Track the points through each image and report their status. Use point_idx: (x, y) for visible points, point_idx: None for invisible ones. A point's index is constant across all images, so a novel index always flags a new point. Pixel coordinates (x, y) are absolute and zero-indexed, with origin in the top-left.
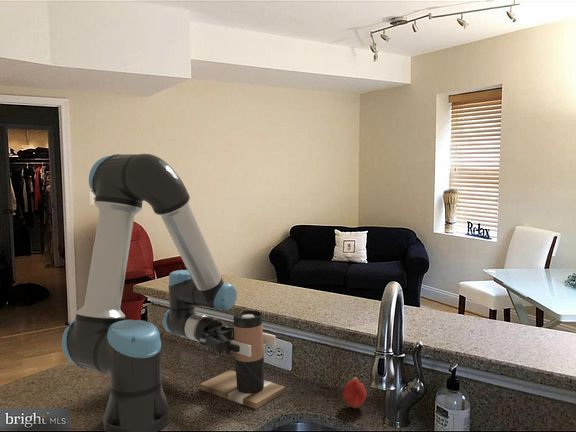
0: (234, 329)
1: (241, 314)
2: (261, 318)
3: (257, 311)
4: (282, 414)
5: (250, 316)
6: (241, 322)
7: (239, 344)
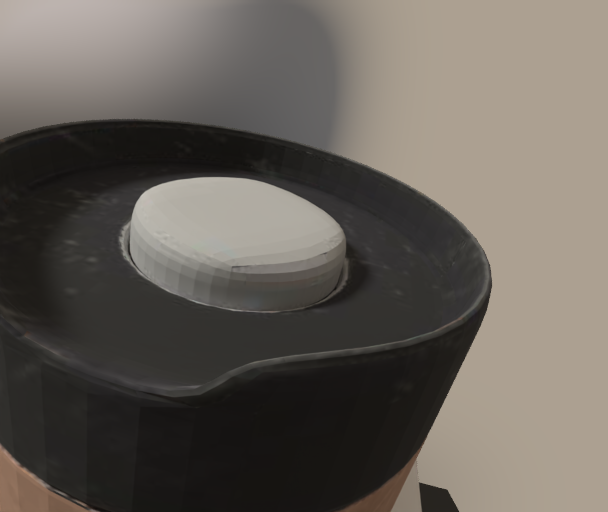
0: (395, 498)
1: (71, 341)
2: (208, 164)
3: (38, 131)
4: None
5: (273, 188)
6: (443, 271)
7: (414, 469)
